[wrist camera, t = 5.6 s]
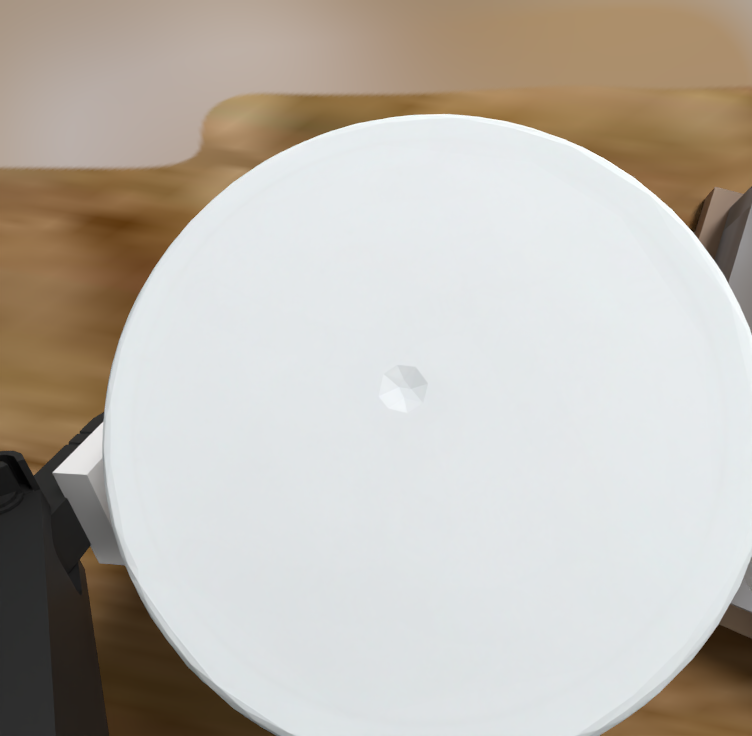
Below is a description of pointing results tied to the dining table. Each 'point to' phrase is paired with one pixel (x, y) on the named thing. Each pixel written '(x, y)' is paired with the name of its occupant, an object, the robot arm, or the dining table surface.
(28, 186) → the dining table surface
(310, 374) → the supplement tub
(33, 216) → the dining table surface
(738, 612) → the dock
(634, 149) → the dining table surface
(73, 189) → the dining table surface
